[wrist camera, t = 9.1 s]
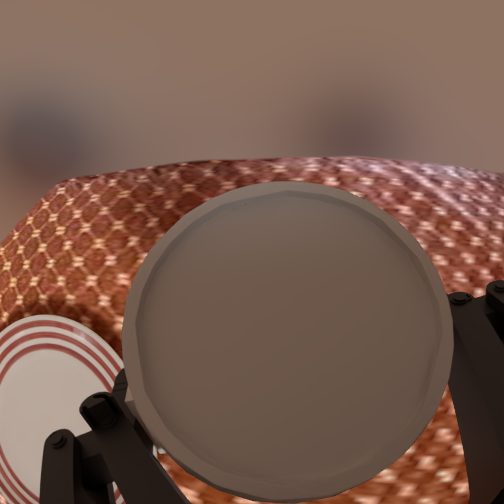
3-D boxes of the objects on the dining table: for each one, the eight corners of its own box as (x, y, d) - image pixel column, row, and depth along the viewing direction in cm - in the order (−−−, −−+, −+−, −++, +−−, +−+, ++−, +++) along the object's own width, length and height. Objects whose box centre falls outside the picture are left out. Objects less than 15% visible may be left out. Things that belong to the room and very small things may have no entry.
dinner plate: (219, 438, 26) (213, 441, 23) (84, 567, 16) (71, 575, 13) (60, 281, 35) (47, 270, 32) (-34, 410, 25) (-49, 406, 22)
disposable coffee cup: (257, 481, 14) (247, 577, 4) (169, 356, 18) (61, 275, 8) (382, 386, 17) (513, 336, 6) (291, 276, 21) (314, 132, 10)
